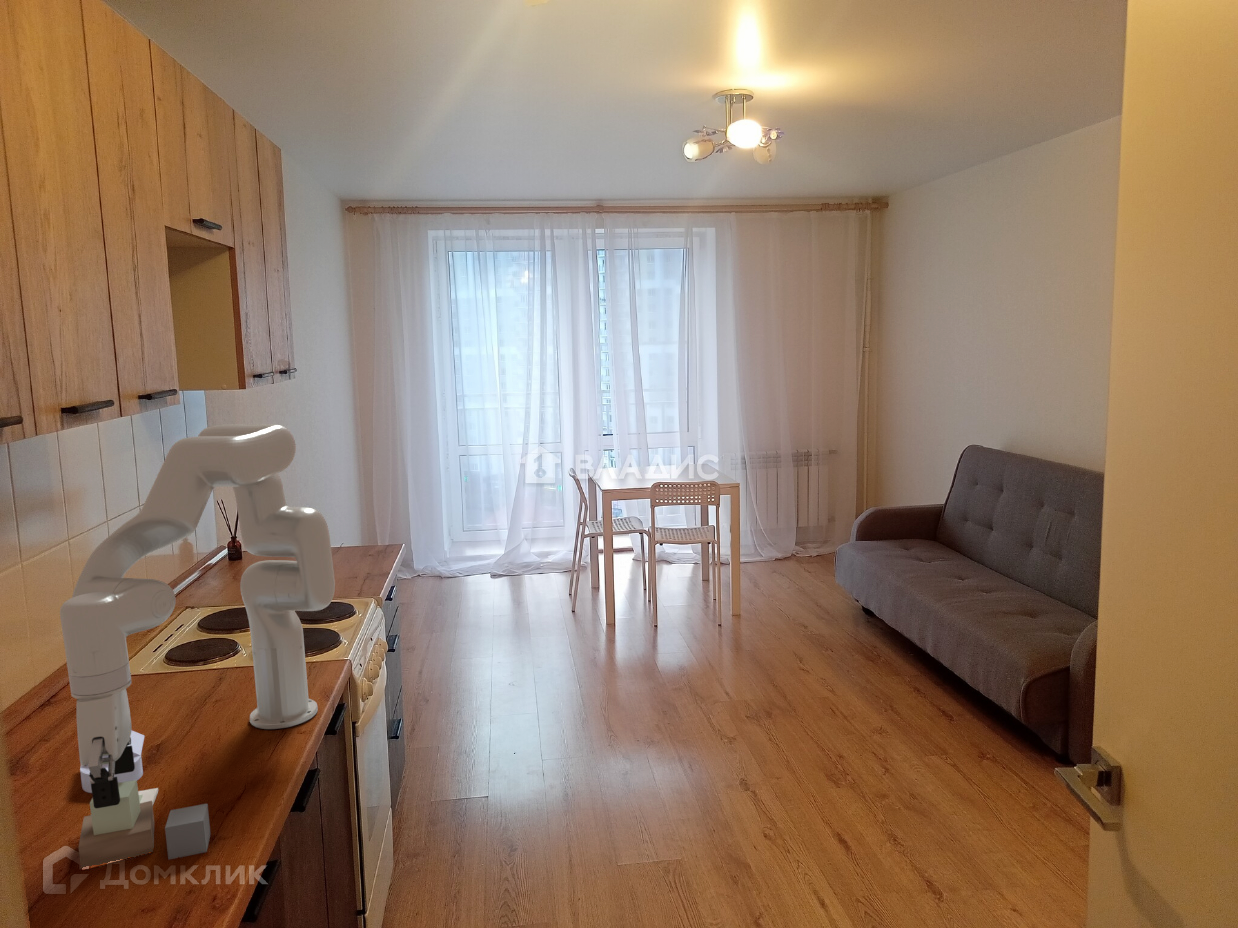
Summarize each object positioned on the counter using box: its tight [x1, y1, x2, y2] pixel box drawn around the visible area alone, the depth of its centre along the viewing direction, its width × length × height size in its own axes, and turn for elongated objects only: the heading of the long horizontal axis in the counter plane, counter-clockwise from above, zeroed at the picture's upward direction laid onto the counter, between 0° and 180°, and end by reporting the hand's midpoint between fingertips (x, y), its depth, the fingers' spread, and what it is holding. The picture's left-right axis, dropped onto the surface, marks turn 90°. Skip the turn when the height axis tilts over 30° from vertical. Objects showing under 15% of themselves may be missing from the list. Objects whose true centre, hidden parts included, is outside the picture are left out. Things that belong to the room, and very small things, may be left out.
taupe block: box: [78, 801, 155, 869], centre depth 127 cm, size 9×9×4 cm
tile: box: [138, 787, 159, 807], centre depth 138 cm, size 7×7×1 cm
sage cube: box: [89, 780, 141, 835], centre depth 126 cm, size 5×5×5 cm
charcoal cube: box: [164, 803, 212, 860], centre depth 126 cm, size 5×5×5 cm
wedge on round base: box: [79, 729, 145, 794], centre depth 148 cm, size 9×7×13 cm
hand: (115, 788), depth 126 cm, fingers open, 9 cm apart
